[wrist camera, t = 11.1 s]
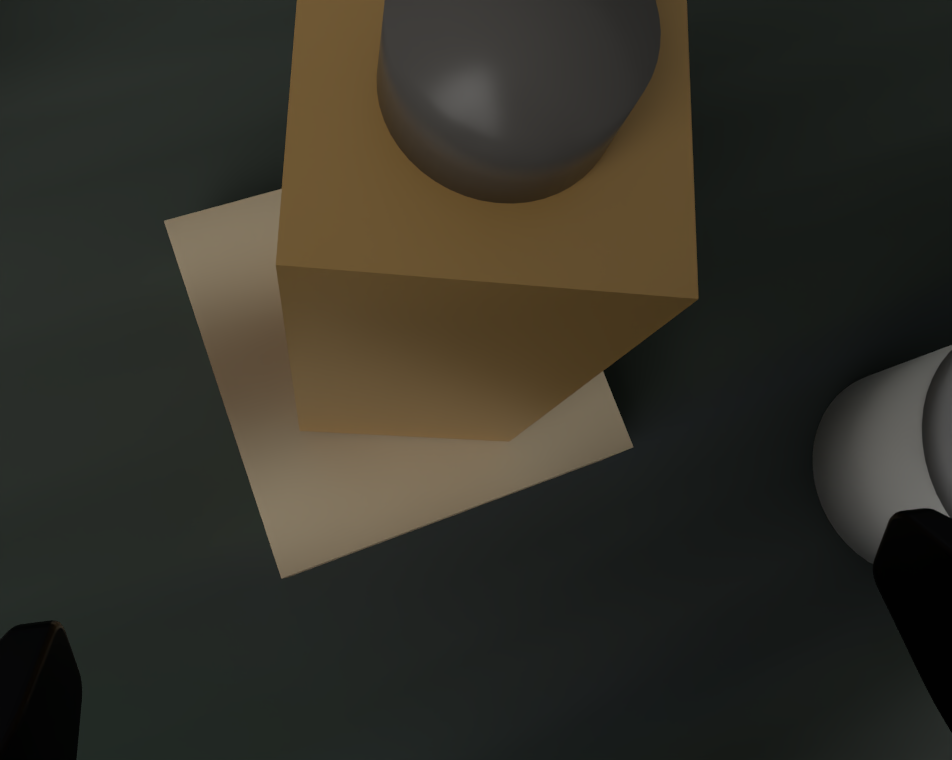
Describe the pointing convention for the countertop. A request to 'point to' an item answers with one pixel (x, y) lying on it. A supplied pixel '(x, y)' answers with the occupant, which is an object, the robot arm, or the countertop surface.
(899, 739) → the countertop surface
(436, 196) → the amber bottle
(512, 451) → the beech block
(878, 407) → the white jar
